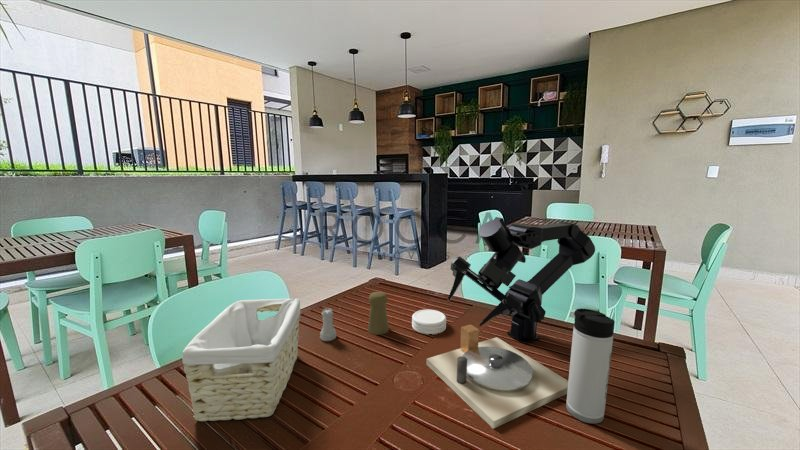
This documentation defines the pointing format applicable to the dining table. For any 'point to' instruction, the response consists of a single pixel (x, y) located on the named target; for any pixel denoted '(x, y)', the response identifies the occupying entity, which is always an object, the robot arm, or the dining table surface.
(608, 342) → the travel mug
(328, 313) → the white chess piece
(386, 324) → the cork
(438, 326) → the coaster
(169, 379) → the dining table surface
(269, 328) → the storage basket
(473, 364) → the flange plate
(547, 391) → the birch base board
